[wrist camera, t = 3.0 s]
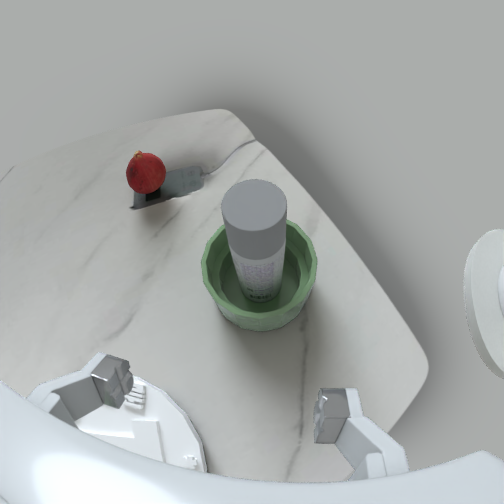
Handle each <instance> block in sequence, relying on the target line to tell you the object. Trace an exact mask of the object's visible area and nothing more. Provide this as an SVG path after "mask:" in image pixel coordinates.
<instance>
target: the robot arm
mask: <svg viewBox="0 0 504 504" xmlns="http://www.w3.org/2000/svg"><path fill="white" fill-rule="evenodd" d="M498 295H499V302H500V306H501V310H502V314H503V316H504V265H503V267H502V268H501V271H500V274H499V279H498ZM129 368H130V365H129V361H127V360H124V359H121V358H118V357H115V356H111V355H108V354H105V353H102V352H99V353H97V354H96V355H95V356H94V357H93V358H92V359H91V360H90V361H89V363H88V364H87V365H86V366H85V367H84V368H83V369H82V370H81V371H76V372H73V373H70V374H67V375H64V376H61V377H59V378H56V379H53V380H50V381H47V382H44V383H41V384H39V385H38V386H37V387H36V388H35V389H34V390H33V391H32V392H31V394H30V395H29V396H28V397H27V398H24V397H23V396H21V395H20V394H19V393H17V392H16V391H14V390H13V389H12V388H10V387H9V386H8V385H6V384H5V383H4V382H2V381H1V380H0V504H504V461H503V460H501V459H500V458H498V457H497V456H495V455H493V454H491V453H489V452H487V451H485V450H480V451H476V452H474V453H471V454H468V455H466V456H463V457H460V458H457V459H454V460H451V461H448V462H445V463H441V464H438V465H434V466H431V467H427V468H423V469H419V470H415V471H410V469H409V465H408V461H407V458H406V454H405V450H404V448H403V447H402V446H401V445H400V444H398V443H397V442H396V441H395V440H394V439H393V438H391V437H390V436H389V435H388V434H387V433H386V432H384V431H383V430H382V429H381V428H380V427H379V426H377V425H376V424H375V423H374V422H373V421H372V420H371V419H369V418H368V417H364V414H363V410H362V405H361V401H360V397H359V393H358V389H357V388H345V389H344V388H320V390H319V393H318V401H316V404H315V408H314V417H313V419H314V424H315V425H316V426H315V429H314V443H322V444H335V445H336V447H337V448H338V449H339V451H340V452H341V453H342V454H343V456H344V457H345V458H346V459H347V461H348V462H349V463H350V464H351V466H352V467H353V468H354V469H355V472H354V473H353V474H352V476H351V477H350V478H349V479H348V481H339V482H316V483H297V482H273V481H261V480H251V479H242V478H235V477H228V476H222V475H216V474H211V473H206V472H201V471H196V470H192V469H187V468H183V467H179V466H175V465H172V464H168V463H164V462H161V461H158V460H154V459H151V458H148V457H145V456H142V455H139V454H136V453H133V452H131V451H128V450H125V449H123V448H120V447H117V446H115V445H112V444H110V443H108V442H105V441H103V440H101V439H98V438H96V437H94V436H92V435H90V434H87V433H85V432H83V431H81V430H79V428H78V426H77V425H76V423H75V422H74V421H76V420H78V419H80V418H82V417H83V416H85V415H87V414H89V413H90V412H92V411H94V410H96V409H97V408H99V407H101V406H103V405H104V404H105V405H108V406H111V407H114V408H117V409H120V407H121V405H122V404H123V402H124V401H125V396H124V395H127V394H129V393H130V391H131V390H132V387H133V384H134V379H133V375H132V373H131V372H130V371H129Z"/></svg>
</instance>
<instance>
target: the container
mask: <svg viewBox="0 0 504 504" xmlns="http://www.w3.org/2000/svg"><path fill="white" fill-rule="evenodd" d="M221 210H222V215H223V220H224V224H225V229H226V234H227V238H228V243H229V248H230V251H231V255H232V259H233V262H234V266H235V269H236V273H237V276H238V280H239V283H240V287H241V290H242V292H243V294H244V296H245V297H246V298H247V299H249V300H250V301H252V302H256V303H266V302H269V301H271V300H273V299H274V298H275V297H276V296H277V295H278V293H279V291H280V289H281V282H282V273H283V263H284V254H285V244H286V218H287V201H286V197H285V195H284V193H283V192H282V190H281V189H280V188H279V187H277V186H276V185H275V184H273V183H271V182H268V181H265V180H259V179H252V180H246V181H242V182H240V183H237V184H236V185H234V186H232V187H231V188H230V189H229V190H228V191H227V192H226V194H225V195H224V197H223V199H222V203H221Z"/></svg>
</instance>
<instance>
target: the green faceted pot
mask: <svg viewBox="0 0 504 504" xmlns="http://www.w3.org/2000/svg"><path fill="white" fill-rule="evenodd" d="M201 267H202V275H203V282H204V284H205V286H206V288H207V289H208V291H209V293H210V294H211V296H212V298H213V299H214V301H215V303H216V304H217V306H218V307H219V309H220V310H221V312H222V314H223V315H224V317H225V318H227V319H228V320H230V321H231V322H233V323H234V324H236V325H237V326H239V327H240V328H243V329H248V330H254V331H259V332H263V331H268V330H272V329H277V328H280V327H283V326H284V325H285V324H287V323H288V322H290V321H291V320H293V319H294V318H296V317H297V316H298V314H299V313H300V311H301V309H302V308H303V306H304V305H305V303H306V301H307V299H308V297H309V294H310V292H311V290H312V287H313V285H314V282H315V278H316V269H317V257H316V254H315V251H314V247H313V244H312V241H311V240H310V238H309V237H308V236H307V235H306V234H305V233H304V232H303V230H302V229H301V228H300V227H299V226H298V225H297V224H295V223H293V222H291V221H289V220H287V219H286V244H285V254H284V263H283V273H282V282H281V289H280V291H279V293H278V295H277V296H276V297H275V298H274V299H273V300H271V301H269V302H266V303H256V302H252V301H250V300H249V299H247V298H246V297H245V296H244V294H243V292H242V290H241V287H240V283H239V280H238V276H237V273H236V269H235V266H234V262H233V259H232V255H231V251H230V248H229V243H228V238H227V234H226V229H225V224H224V225H222V226H221V227H220V228H219V229H218V230H217V231H216V232H215V233H214V235H213V236H212V237H211V238H210V240H209V241H208V242H207V244H206V247H205V251H204V254H203V257H202V260H201Z"/></svg>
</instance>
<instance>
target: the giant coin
mask: <svg viewBox="0 0 504 504" xmlns="http://www.w3.org/2000/svg"><path fill="white" fill-rule="evenodd" d="M133 379H134V384H133V387H132V390H131V391H130V393H129V394H127V395H124V396H125V401H124V402H123V404H122V405H121V407H120V409H117V408H114V407H111V406H108V405H105V404H104V405H103V406H101V407H99V408H97V409H96V410H94V411H92V412H90V413H89V414H87V415H85V416H83V417H82V418H80V419H78V420H76V421H74V422H75V423H76V425H77V426H78V428H79V430H81V431H83V432H85V433H87V434H90V435H92V436H94V437H96V438H98V439H101V440H103V441H105V442H108V443H110V444H112V445H115V446H117V447H120V448H123V449H125V450H128V451H131V452H133V453H136V454H139V455H142V456H145V457H148V458H151V459H154V460H158V461H161V462H164V463H168V464H172V465H175V466H179V467H183V468H187V469H192V470H196V471H201V472H207V466H206V461H205V456H204V450H203V445H202V441H201V439H200V437H199V435H198V434H197V432H196V430H195V428H194V426H193V425H192V423H191V421H190V419H189V417H188V415H187V414H186V413H185V412H184V411H183V410H182V409H181V408H180V407H179V406H178V405H177V404H176V403H175V402H174V401H173V400H172V399H171V398H170V397H169V396H168V395H167V394H166V393H165V392H164V391H163V390H161V389H159V388H157V387H155V386H154V385H152V384H150V383H148V382H146V381H145V380H143V379H141V378H139V377H136V376H133Z"/></svg>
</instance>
